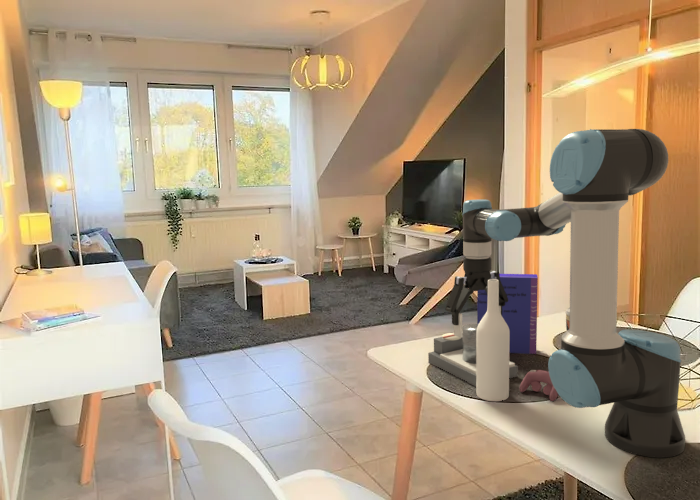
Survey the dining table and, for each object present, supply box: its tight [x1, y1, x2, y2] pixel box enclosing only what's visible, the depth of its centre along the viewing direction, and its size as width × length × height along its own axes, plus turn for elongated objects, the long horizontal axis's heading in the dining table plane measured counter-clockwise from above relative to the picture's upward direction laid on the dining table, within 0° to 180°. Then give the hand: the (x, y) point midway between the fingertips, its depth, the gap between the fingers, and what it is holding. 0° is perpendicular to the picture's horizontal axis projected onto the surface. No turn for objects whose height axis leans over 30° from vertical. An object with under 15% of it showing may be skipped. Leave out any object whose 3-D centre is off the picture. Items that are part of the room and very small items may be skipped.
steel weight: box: [462, 323, 478, 364], centre depth 161 cm, size 8×8×9 cm
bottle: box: [475, 279, 510, 402], centre depth 145 cm, size 8×8×30 cm
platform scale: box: [428, 332, 518, 387], centre depth 165 cm, size 23×14×8 cm, turn 28°
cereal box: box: [476, 273, 539, 355], centre depth 177 cm, size 17×5×24 cm, turn 76°
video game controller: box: [518, 369, 559, 402], centre depth 147 cm, size 10×5×7 cm, turn 43°
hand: (477, 332), depth 160 cm, fingers open, 13 cm apart
